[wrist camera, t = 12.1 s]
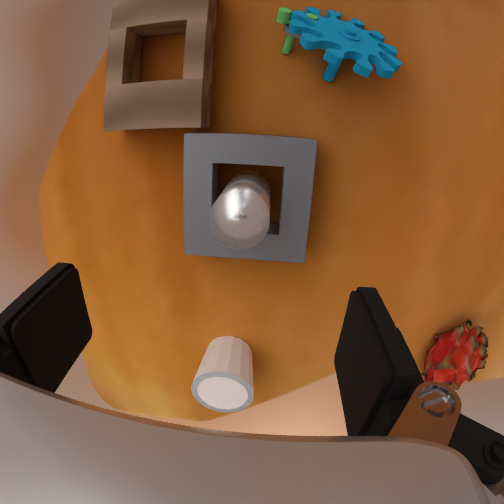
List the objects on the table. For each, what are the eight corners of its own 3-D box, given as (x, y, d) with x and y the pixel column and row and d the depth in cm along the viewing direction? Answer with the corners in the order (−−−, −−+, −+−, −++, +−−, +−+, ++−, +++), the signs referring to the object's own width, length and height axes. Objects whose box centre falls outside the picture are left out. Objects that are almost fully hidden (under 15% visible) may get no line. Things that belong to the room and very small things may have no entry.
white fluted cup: (267, 360, 38) (266, 402, 31) (223, 379, 40) (216, 419, 33) (236, 322, 36) (229, 363, 29) (191, 344, 38) (177, 384, 31)
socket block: (193, 132, 28) (184, 133, 25) (311, 138, 28) (316, 139, 24) (193, 241, 32) (184, 254, 29) (301, 248, 32) (304, 262, 29)
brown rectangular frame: (132, 5, 23) (115, -7, 19) (218, -5, 22) (211, -21, 19) (122, 129, 28) (103, 131, 24) (209, 127, 28) (200, 127, 24)
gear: (408, 41, 22) (400, 84, 18) (383, 82, 27) (365, 135, 23) (303, -10, 22) (258, 16, 18) (288, 34, 27) (244, 74, 23)
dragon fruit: (469, 299, 35) (418, 357, 41) (451, 309, 30) (392, 374, 36) (507, 342, 29) (450, 396, 36) (496, 361, 25) (428, 420, 31)
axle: (229, 168, 29) (209, 189, 20) (271, 171, 29) (271, 193, 20) (227, 209, 31) (208, 247, 22) (268, 211, 31) (267, 251, 21)
